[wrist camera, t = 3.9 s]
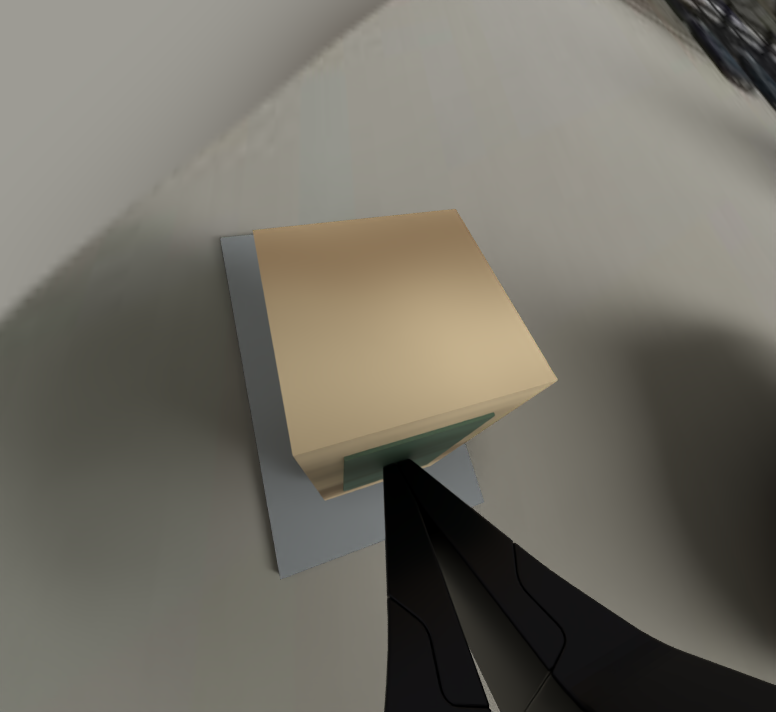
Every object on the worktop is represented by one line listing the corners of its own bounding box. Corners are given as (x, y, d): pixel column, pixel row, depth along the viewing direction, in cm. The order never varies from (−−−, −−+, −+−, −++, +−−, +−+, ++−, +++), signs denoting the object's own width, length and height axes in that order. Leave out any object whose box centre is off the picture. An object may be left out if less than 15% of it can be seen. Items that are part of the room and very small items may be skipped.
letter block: (431, 467, 15) (560, 384, 6) (325, 502, 13) (294, 461, 5) (397, 372, 17) (455, 209, 8) (302, 395, 16) (252, 230, 7)
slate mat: (480, 500, 16) (484, 502, 16) (281, 575, 14) (280, 579, 13) (391, 223, 20) (392, 219, 20) (222, 242, 17) (219, 237, 17)
